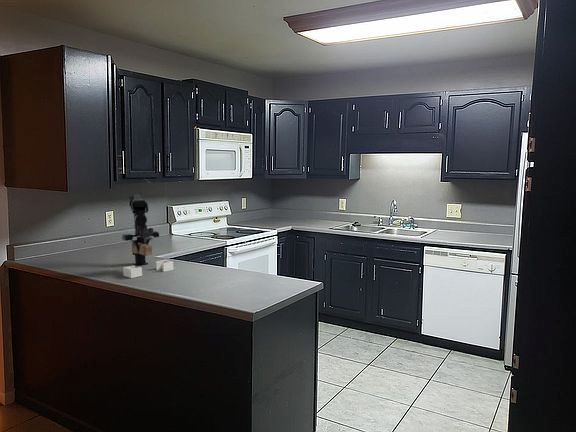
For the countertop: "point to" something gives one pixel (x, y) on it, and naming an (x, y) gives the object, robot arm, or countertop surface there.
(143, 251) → the brown bar
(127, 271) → the cap
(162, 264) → the cap
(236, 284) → the countertop surface
